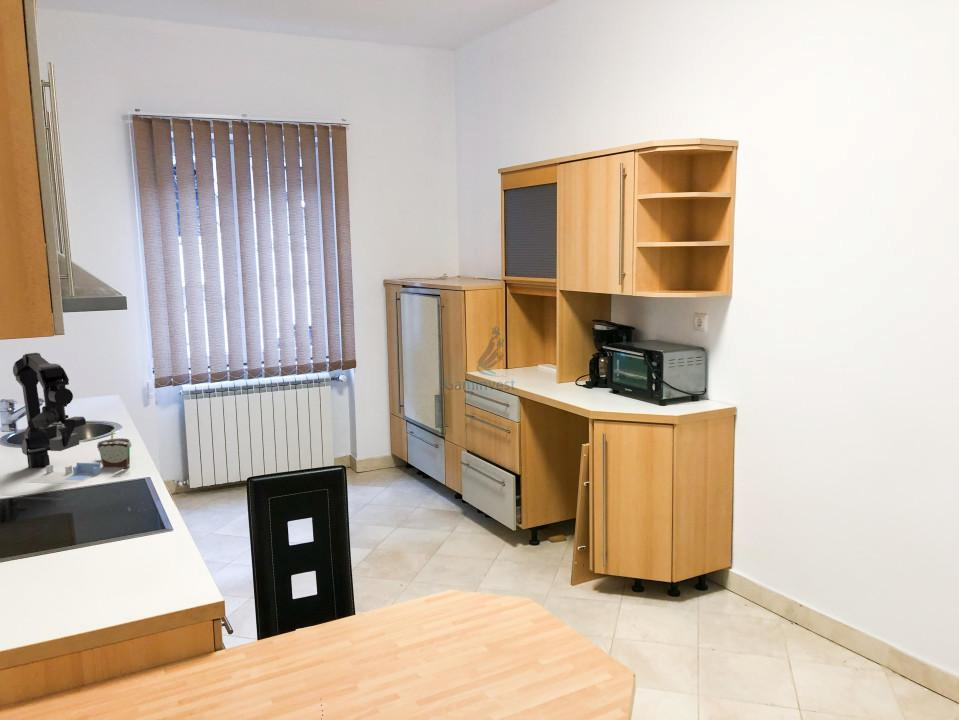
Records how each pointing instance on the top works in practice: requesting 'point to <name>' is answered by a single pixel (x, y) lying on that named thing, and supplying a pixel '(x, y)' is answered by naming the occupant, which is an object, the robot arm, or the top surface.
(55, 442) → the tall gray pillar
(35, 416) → the robot arm
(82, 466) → the miniature room diorama
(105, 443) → the food container
